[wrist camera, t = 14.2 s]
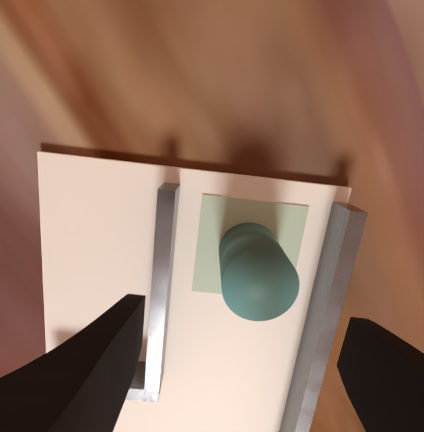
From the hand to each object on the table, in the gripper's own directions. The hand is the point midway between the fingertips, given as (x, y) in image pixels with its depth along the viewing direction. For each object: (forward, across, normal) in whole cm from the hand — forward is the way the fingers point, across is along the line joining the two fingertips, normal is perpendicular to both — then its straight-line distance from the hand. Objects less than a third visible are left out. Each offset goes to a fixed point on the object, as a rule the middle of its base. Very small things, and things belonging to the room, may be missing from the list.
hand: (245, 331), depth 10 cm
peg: (+10, -2, +1) cm, 10 cm away
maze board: (+10, +2, +10) cm, 14 cm away
